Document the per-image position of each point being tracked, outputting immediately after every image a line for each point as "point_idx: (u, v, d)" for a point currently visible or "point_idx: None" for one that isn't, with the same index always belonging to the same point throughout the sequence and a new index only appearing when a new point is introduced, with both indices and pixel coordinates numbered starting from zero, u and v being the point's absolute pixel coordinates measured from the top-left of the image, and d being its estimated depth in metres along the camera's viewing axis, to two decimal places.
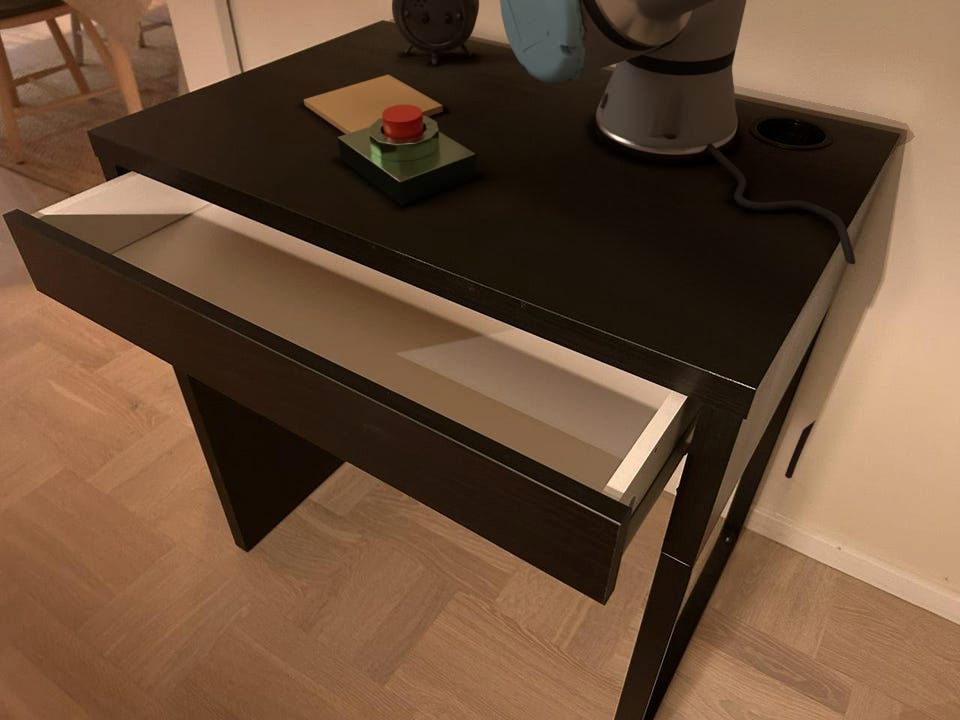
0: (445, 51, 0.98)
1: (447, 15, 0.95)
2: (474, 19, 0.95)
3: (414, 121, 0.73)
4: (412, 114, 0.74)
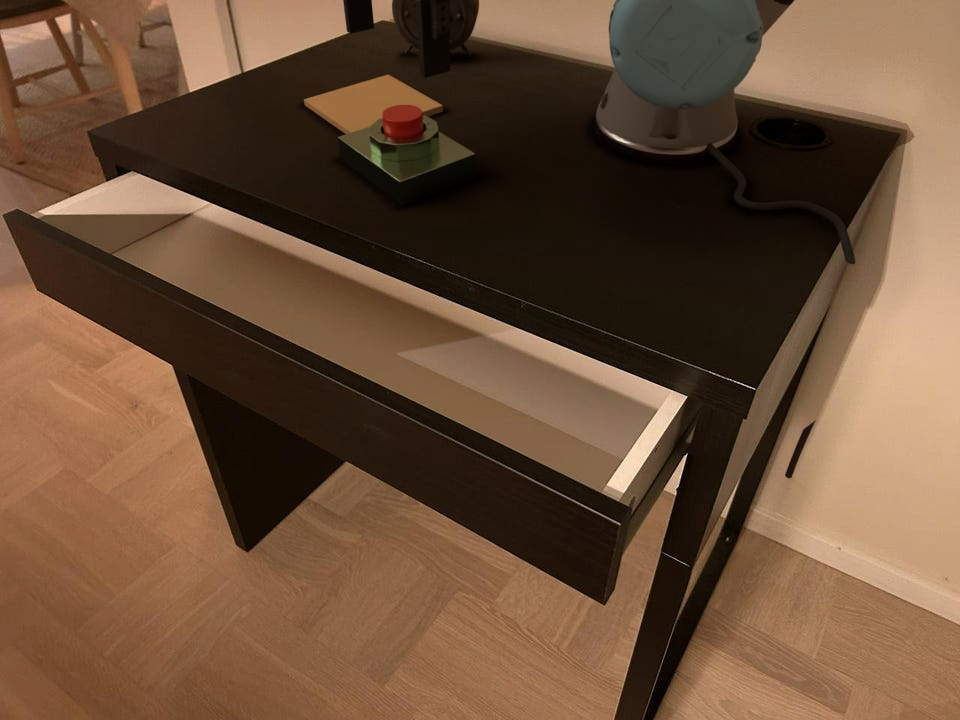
0: None
1: None
2: (474, 19, 0.95)
3: (414, 121, 0.73)
4: (412, 114, 0.74)
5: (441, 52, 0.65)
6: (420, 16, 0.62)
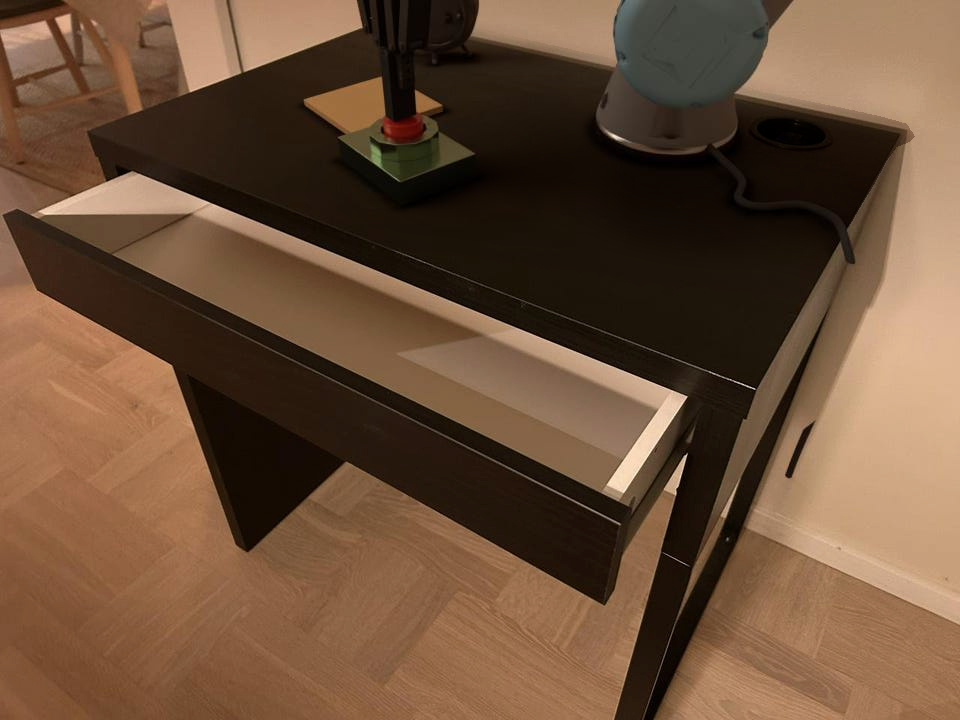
0: (445, 51, 0.98)
1: (447, 15, 0.95)
2: (474, 19, 0.95)
3: (414, 126, 0.73)
4: (412, 119, 0.74)
5: (408, 98, 0.73)
6: (387, 68, 0.70)
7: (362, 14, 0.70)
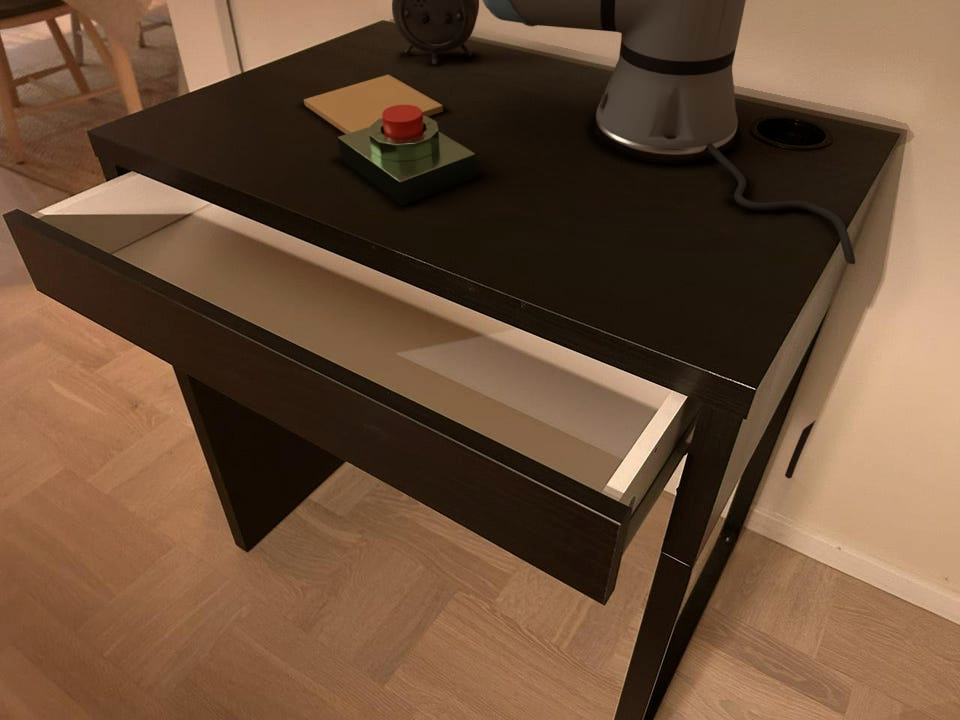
0: (445, 51, 0.98)
1: (447, 15, 0.95)
2: (474, 19, 0.95)
3: (414, 121, 0.73)
4: (412, 114, 0.74)
5: None
6: None
7: None
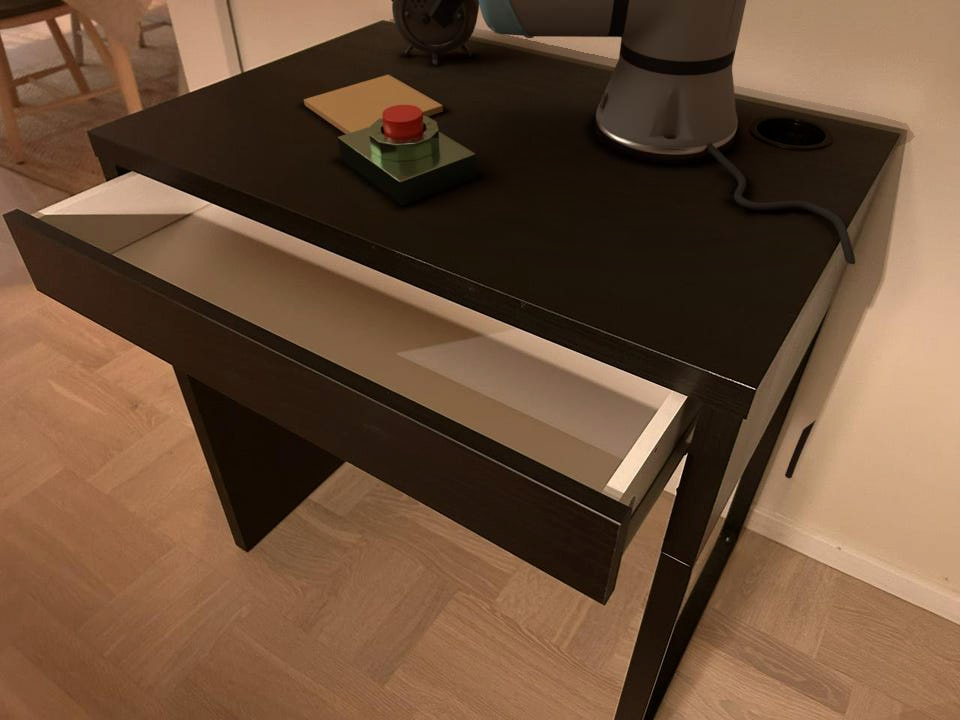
0: (446, 51, 0.98)
1: None
2: (475, 19, 0.95)
3: (414, 121, 0.73)
4: (412, 114, 0.74)
5: (448, 11, 0.92)
6: None
7: None
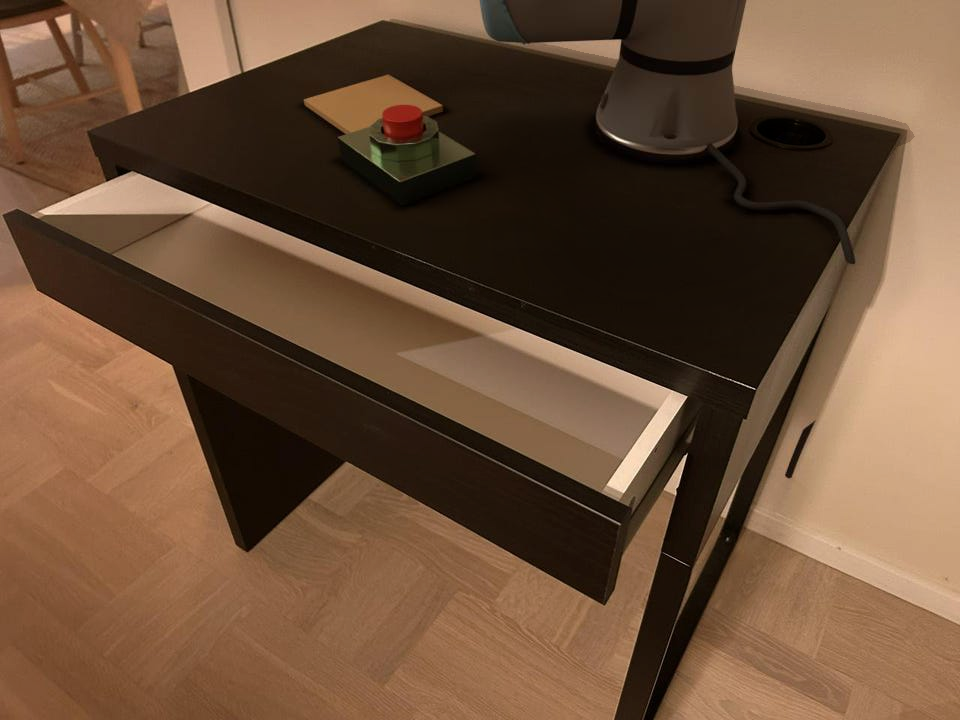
0: None
1: None
2: None
3: (414, 121, 0.73)
4: (412, 114, 0.74)
5: None
6: None
7: None
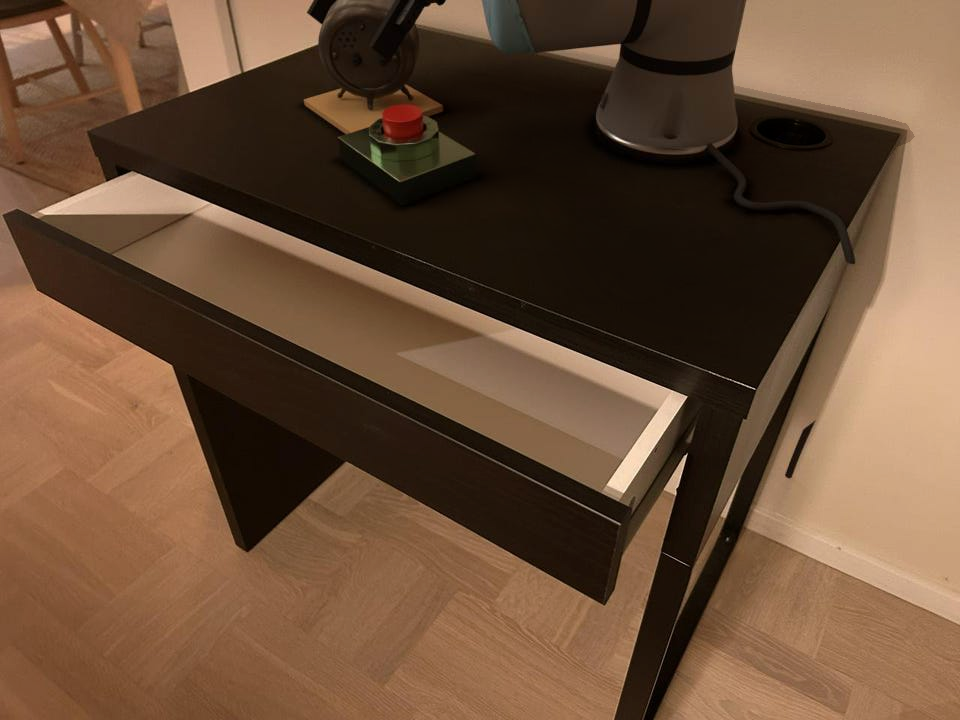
0: (382, 95, 0.86)
1: (382, 57, 0.82)
2: (413, 59, 0.83)
3: (414, 121, 0.73)
4: (412, 114, 0.74)
5: (393, 42, 0.78)
6: (397, 3, 0.76)
7: None
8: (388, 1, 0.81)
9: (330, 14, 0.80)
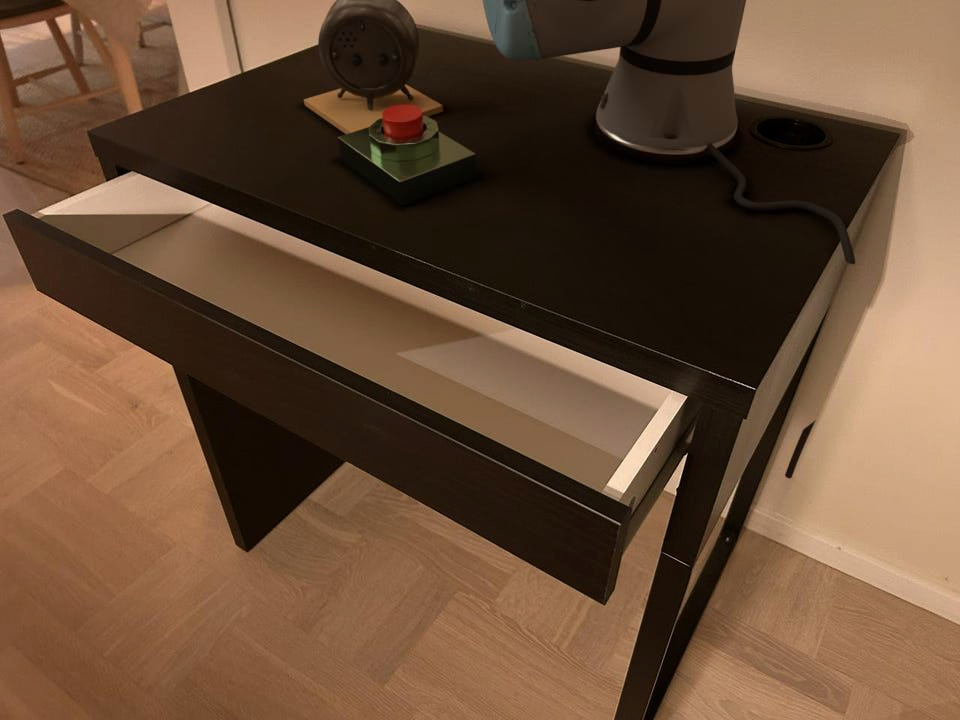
0: (382, 95, 0.86)
1: (382, 57, 0.82)
2: (413, 59, 0.83)
3: (414, 121, 0.73)
4: (412, 114, 0.74)
5: None
6: None
7: None
8: (388, 1, 0.81)
9: (330, 14, 0.80)
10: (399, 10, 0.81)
